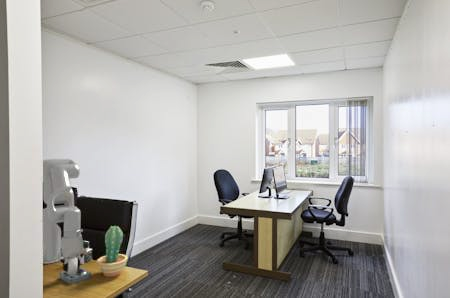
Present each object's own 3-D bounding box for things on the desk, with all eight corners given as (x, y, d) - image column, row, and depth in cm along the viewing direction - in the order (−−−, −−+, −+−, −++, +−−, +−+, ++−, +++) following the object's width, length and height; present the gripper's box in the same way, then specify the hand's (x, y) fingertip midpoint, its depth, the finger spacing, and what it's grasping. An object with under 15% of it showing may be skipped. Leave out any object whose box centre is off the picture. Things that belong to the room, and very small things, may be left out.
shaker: (64, 274, 147) (64, 254, 147) (74, 270, 151) (74, 251, 151) (68, 276, 144) (69, 256, 144) (79, 273, 148) (79, 253, 148)
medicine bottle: (84, 265, 165) (84, 244, 165) (73, 264, 166) (73, 243, 166) (92, 260, 172) (92, 240, 172) (81, 259, 173) (82, 239, 173)
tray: (59, 279, 147) (59, 273, 147) (79, 272, 155) (79, 267, 155) (70, 286, 139) (70, 279, 139) (91, 278, 147) (91, 273, 147)
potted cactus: (133, 270, 158) (134, 224, 158) (114, 282, 143) (114, 231, 144) (110, 266, 163) (111, 222, 163) (89, 277, 149) (90, 228, 149)
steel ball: (79, 278, 147) (79, 271, 147) (85, 276, 149) (85, 269, 149) (82, 280, 145) (82, 273, 145) (88, 277, 147) (88, 271, 147)
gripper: (85, 228, 157) (84, 262, 157) (50, 235, 143) (50, 272, 143) (92, 231, 152) (91, 265, 152) (57, 238, 139) (56, 276, 139)
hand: (71, 268), depth 148 cm, fingers closed on shaker, 5 cm apart
